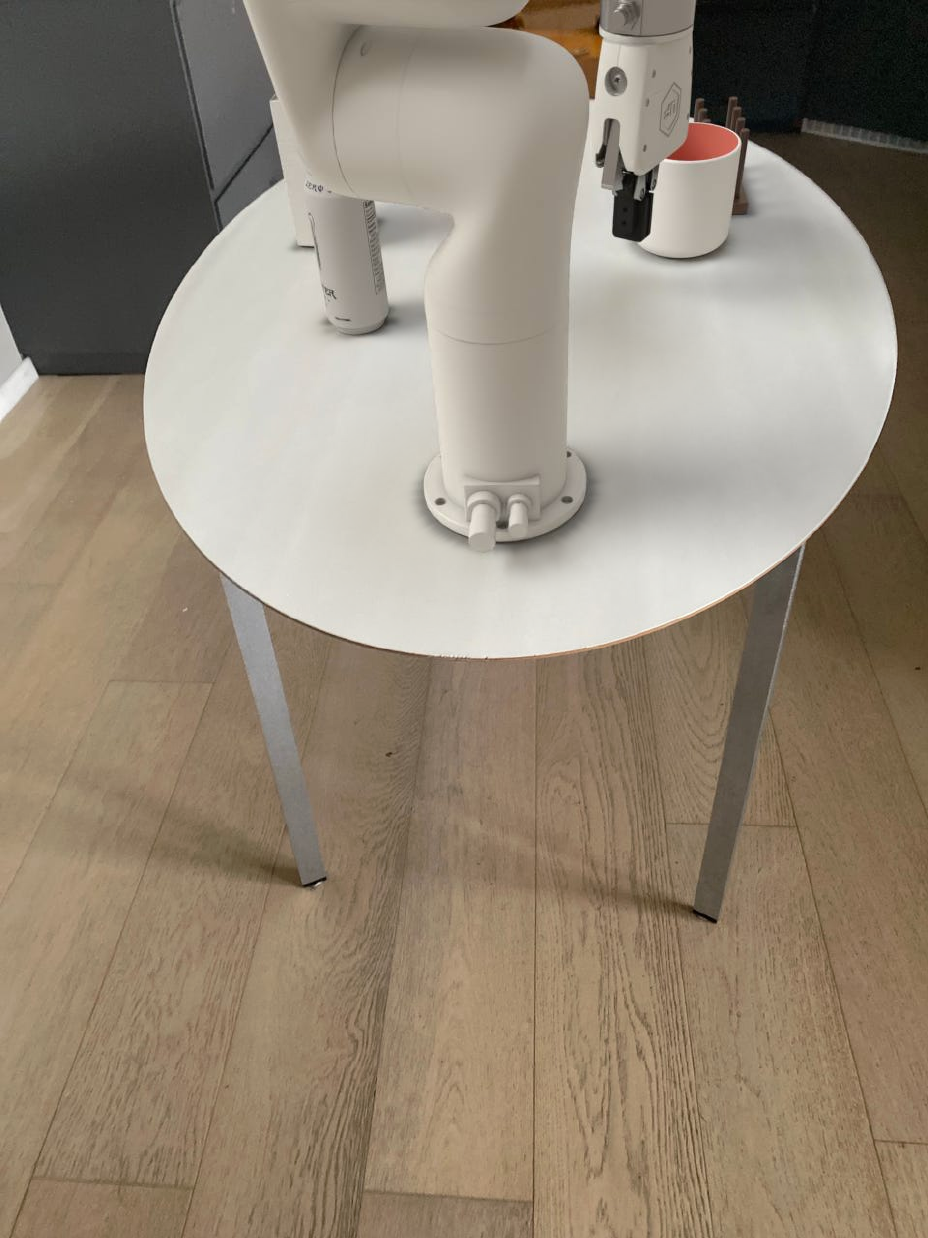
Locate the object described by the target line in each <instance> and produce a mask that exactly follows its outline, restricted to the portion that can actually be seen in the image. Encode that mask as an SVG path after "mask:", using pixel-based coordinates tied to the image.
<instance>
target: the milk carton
mask: <svg viewBox="0 0 928 1238" xmlns="http://www.w3.org/2000/svg"><path fill="white" fill-rule="evenodd" d="M269 107H270V112H271V118H272V123H273V129H274V133H275V138H276V143H277V148H278V154H279V157H280V163H281V168H282V174H283V179H284V184H285V188H286V193H287V198H288V203H289V209H290V213H291V218H292V224H293V228H294V233H295V238H296V243H297V246H299V247H300V246H301V247H314V242H313V237H312V231H311V226H310V221H309V216H308V210H307V205H306V200H305V194H304V189H303V187H304V183H305V180H306V177H307V174H308V172H307V168H306V166H305V165H304V163H303V162H302V160H301V157H300V155H299V153H298V151H297V149H296V147H295V144H294V142H293V139H292V137H291V134H290V131H289V129H288V126H287V123H286V121H285V118H284V115H283V112H282V109H281V107H280V104H279V101H278V98H277V95H276V93H275V92H274V94H273V95H272V97H271V98H270V99H269Z"/></svg>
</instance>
